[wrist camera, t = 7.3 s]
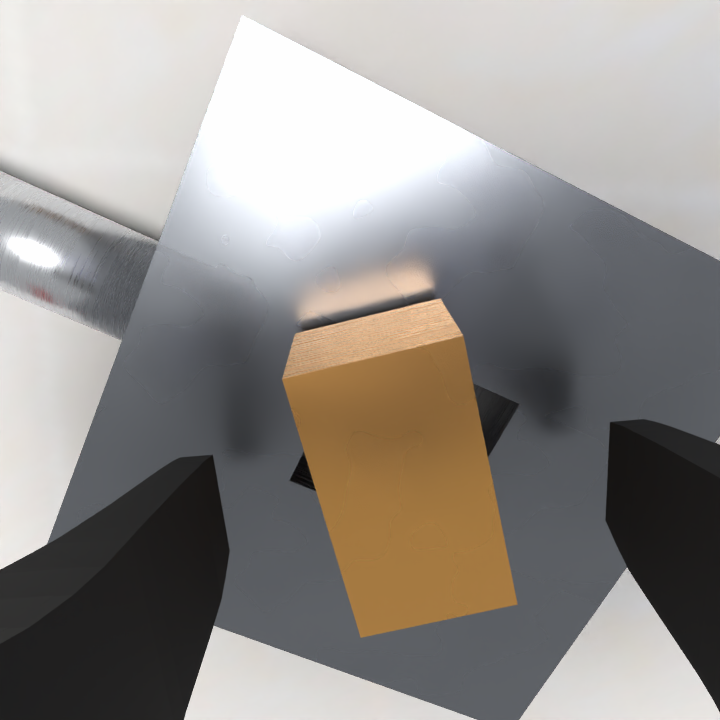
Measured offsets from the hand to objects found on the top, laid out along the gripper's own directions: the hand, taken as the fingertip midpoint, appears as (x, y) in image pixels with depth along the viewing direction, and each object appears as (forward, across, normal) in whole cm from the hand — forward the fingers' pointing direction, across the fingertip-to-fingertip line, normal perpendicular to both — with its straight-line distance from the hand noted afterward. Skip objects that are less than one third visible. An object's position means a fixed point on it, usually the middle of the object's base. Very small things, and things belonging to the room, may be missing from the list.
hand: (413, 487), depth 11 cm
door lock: (+5, +3, -2) cm, 6 cm away
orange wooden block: (+5, 0, 0) cm, 5 cm away
